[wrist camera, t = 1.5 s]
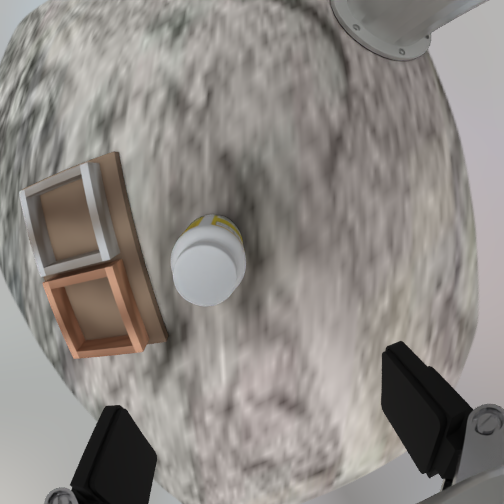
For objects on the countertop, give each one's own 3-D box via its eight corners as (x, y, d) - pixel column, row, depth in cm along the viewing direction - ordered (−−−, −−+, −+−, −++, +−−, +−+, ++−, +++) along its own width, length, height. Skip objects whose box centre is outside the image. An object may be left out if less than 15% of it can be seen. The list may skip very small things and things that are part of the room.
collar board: (27, 189, 24) (7, 191, 21) (118, 152, 25) (102, 149, 21) (78, 347, 29) (65, 364, 25) (168, 335, 29) (161, 354, 26)
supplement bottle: (186, 272, 28) (165, 317, 18) (182, 215, 27) (156, 234, 17) (243, 270, 28) (249, 315, 19) (242, 212, 27) (247, 230, 17)
